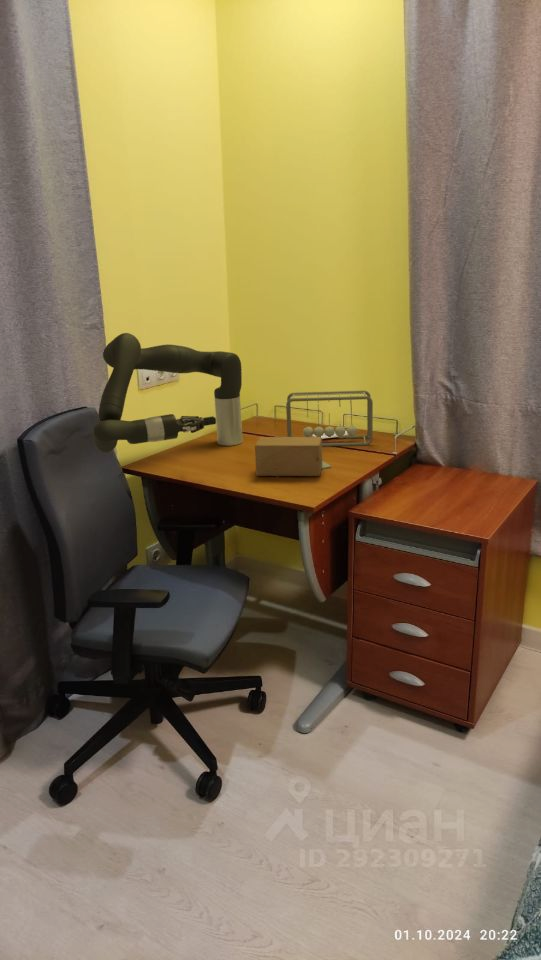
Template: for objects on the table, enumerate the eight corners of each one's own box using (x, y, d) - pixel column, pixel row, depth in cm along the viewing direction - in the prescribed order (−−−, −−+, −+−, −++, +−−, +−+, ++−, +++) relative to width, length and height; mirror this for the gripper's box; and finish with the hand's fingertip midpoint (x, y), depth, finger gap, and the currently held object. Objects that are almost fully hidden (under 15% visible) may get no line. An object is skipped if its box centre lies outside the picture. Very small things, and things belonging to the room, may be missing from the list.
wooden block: (256, 476, 222) (320, 476, 219) (254, 445, 218) (319, 445, 215) (261, 466, 231) (322, 466, 228) (259, 436, 228) (321, 436, 225)
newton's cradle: (370, 437, 260) (370, 390, 255) (372, 445, 250) (372, 396, 245) (288, 439, 262) (286, 392, 257) (287, 447, 252) (285, 398, 247)
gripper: (163, 421, 207) (220, 412, 212) (154, 411, 219) (208, 403, 224) (166, 445, 209) (222, 436, 215) (156, 435, 221) (210, 426, 227)
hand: (215, 420), depth 220 cm, fingers closed
